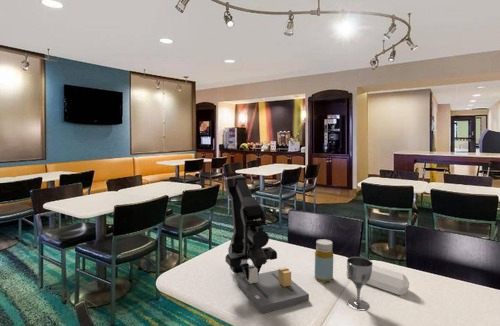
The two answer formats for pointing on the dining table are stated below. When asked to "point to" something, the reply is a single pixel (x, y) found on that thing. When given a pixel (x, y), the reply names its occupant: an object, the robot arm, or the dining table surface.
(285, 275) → the block
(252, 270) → the fader
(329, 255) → the bottle
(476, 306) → the dining table surface
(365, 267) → the wine glass
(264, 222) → the robot arm
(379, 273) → the crystal
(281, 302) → the console
